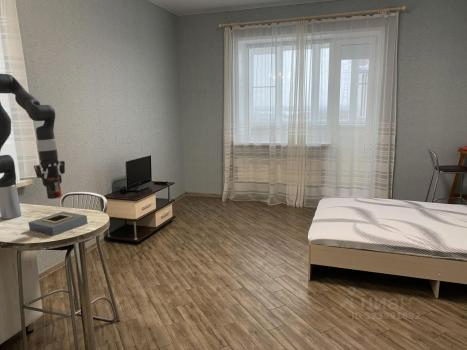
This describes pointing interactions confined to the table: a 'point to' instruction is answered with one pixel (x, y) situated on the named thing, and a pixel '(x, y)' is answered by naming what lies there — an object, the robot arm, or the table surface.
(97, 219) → the table surface
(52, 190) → the deodorant
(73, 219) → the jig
